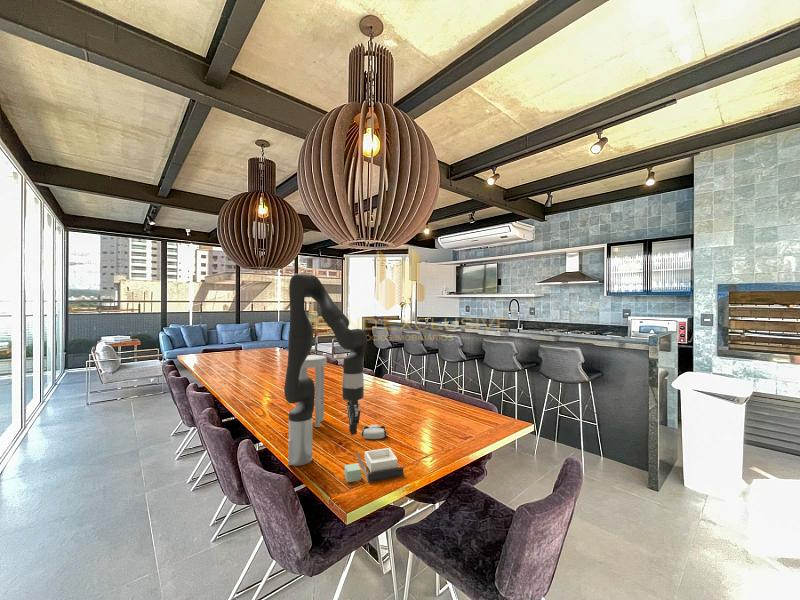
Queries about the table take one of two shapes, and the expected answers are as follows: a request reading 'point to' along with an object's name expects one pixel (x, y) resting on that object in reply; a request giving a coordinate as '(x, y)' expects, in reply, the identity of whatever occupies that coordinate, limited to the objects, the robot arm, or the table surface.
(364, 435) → the robot toy
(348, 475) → the block
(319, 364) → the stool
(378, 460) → the white square tray
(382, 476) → the track
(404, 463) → the table surface
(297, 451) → the robot arm
